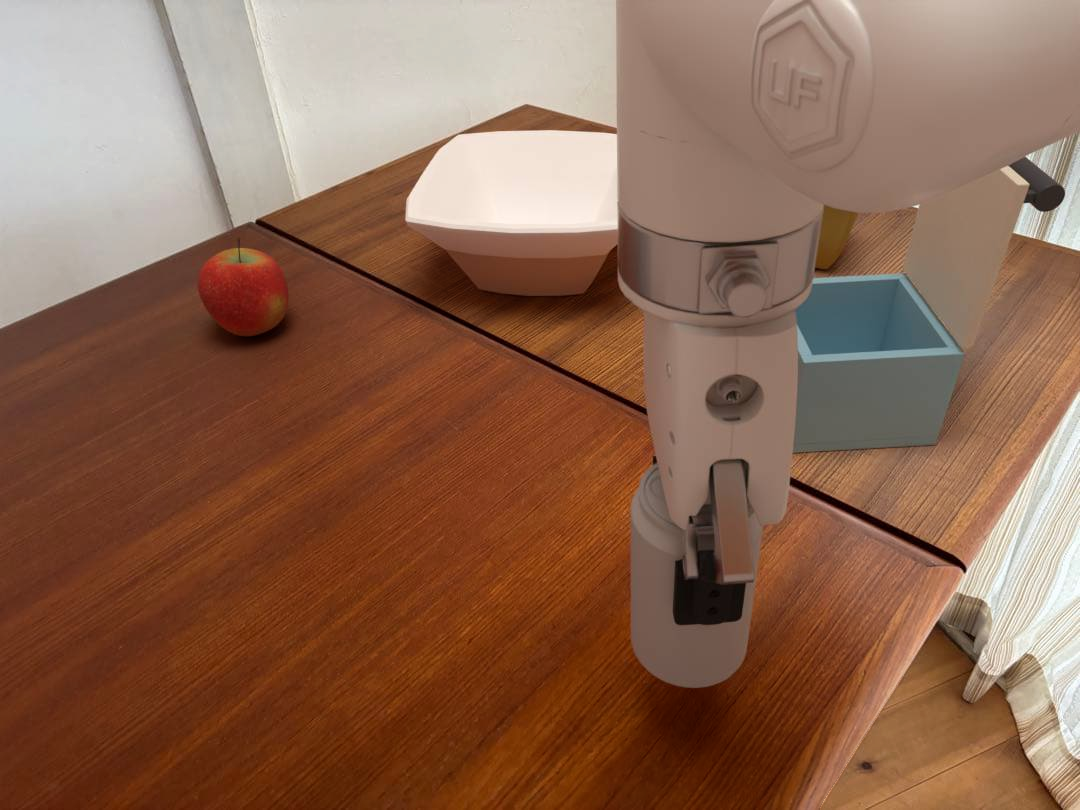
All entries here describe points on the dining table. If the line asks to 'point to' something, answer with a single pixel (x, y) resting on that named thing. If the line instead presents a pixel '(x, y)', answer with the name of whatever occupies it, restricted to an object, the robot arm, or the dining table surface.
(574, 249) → the bowl
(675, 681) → the beverage can
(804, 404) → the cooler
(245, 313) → the apple
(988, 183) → the lid
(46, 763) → the dining table surface
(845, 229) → the flower pot
